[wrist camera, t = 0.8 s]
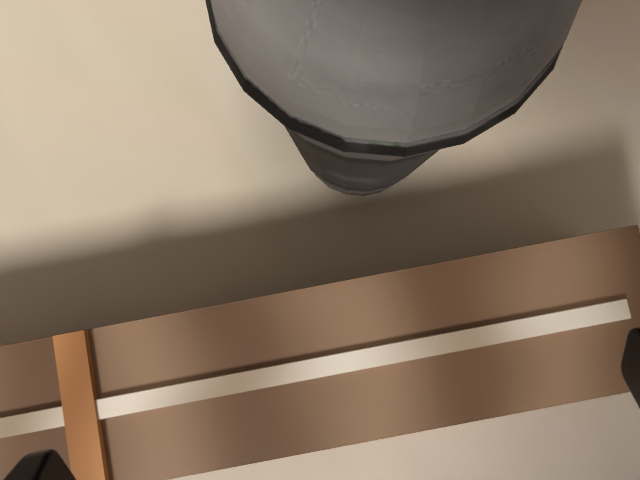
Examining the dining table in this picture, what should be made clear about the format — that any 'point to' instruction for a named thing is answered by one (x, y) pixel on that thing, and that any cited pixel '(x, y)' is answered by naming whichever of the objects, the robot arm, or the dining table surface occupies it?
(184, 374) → the slotted wooden bar
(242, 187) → the dining table surface
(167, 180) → the dining table surface
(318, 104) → the beverage cup
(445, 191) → the dining table surface
